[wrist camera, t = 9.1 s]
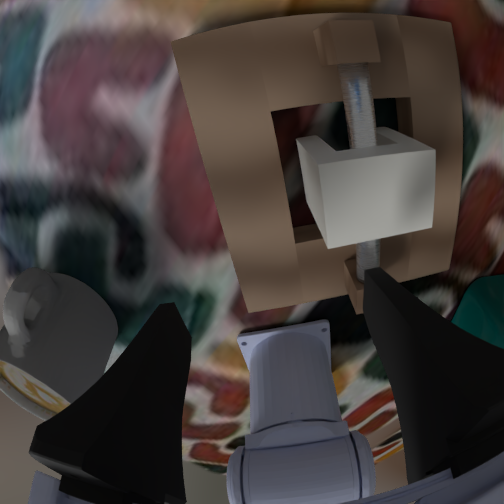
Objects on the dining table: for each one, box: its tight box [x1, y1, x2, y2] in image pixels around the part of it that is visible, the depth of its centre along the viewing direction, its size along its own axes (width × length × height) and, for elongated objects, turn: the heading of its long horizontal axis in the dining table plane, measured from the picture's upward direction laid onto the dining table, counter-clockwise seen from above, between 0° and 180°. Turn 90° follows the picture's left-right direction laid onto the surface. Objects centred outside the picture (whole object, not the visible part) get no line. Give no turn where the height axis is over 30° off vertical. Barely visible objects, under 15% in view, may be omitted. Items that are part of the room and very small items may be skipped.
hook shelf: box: [171, 13, 463, 314], centre depth 15 cm, size 18×16×5 cm
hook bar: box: [337, 63, 380, 284], centre depth 14 cm, size 14×1×1 cm, turn 12°
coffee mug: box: [0, 267, 118, 421], centre depth 19 cm, size 13×10×10 cm
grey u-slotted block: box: [296, 127, 436, 249], centre depth 14 cm, size 4×6×6 cm
